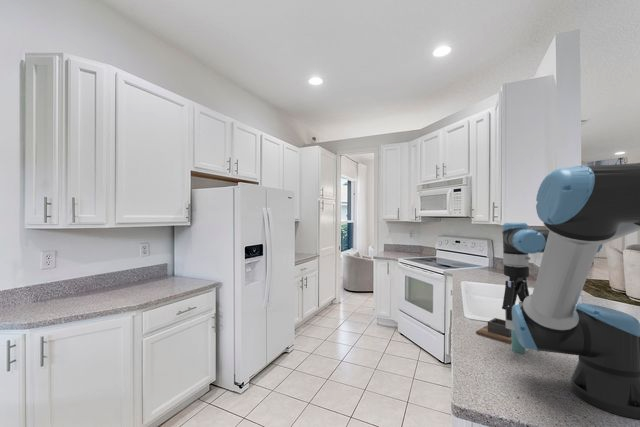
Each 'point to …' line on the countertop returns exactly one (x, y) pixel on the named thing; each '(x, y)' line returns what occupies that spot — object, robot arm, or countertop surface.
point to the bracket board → (496, 331)
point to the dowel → (516, 344)
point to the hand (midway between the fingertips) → (517, 324)
